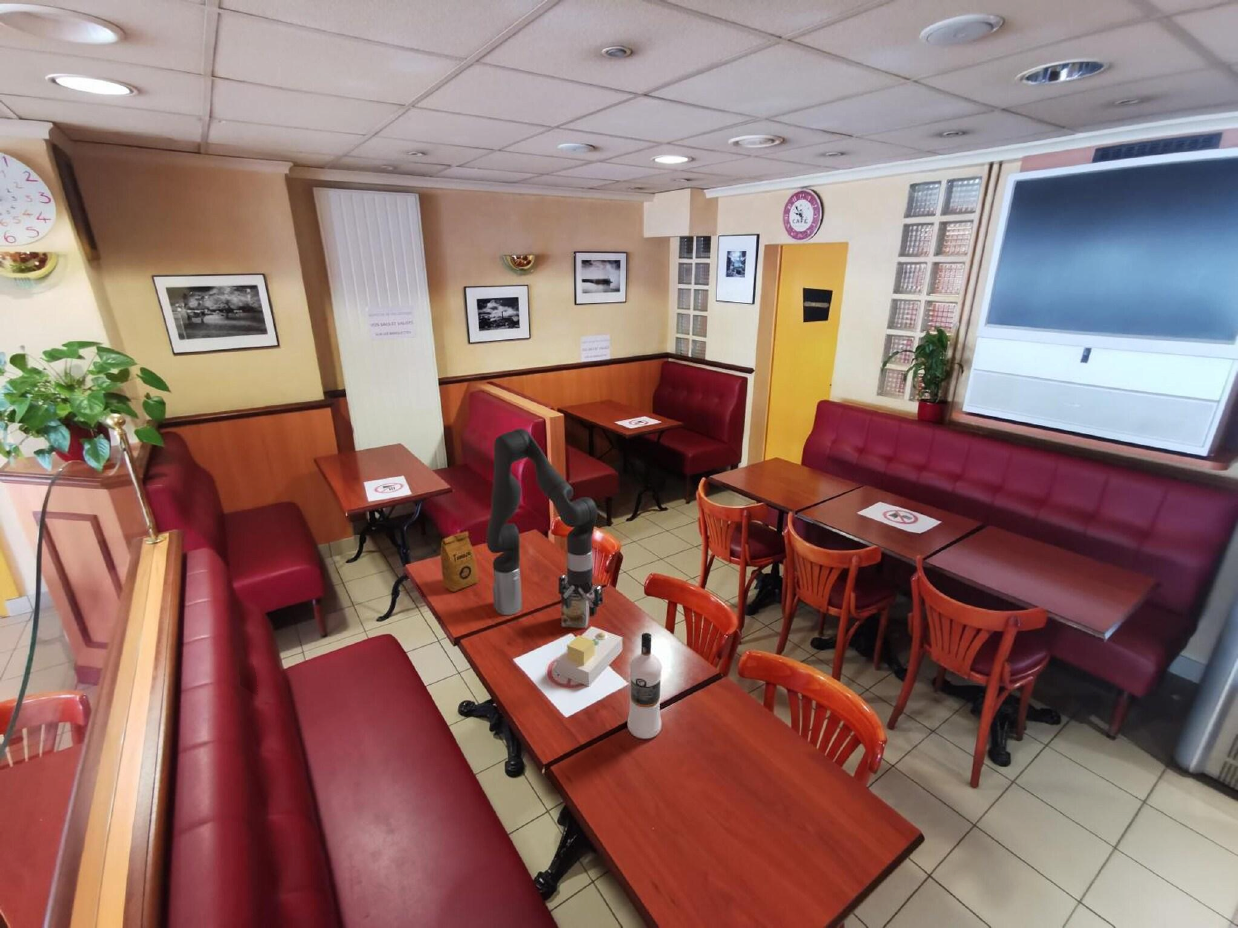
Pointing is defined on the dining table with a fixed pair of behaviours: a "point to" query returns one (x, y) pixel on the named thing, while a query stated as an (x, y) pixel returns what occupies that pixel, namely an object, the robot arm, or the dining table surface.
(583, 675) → the panel
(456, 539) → the coffee package
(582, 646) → the cap
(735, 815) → the dining table surface
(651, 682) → the vodka
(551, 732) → the dining table surface
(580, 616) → the coffee box
